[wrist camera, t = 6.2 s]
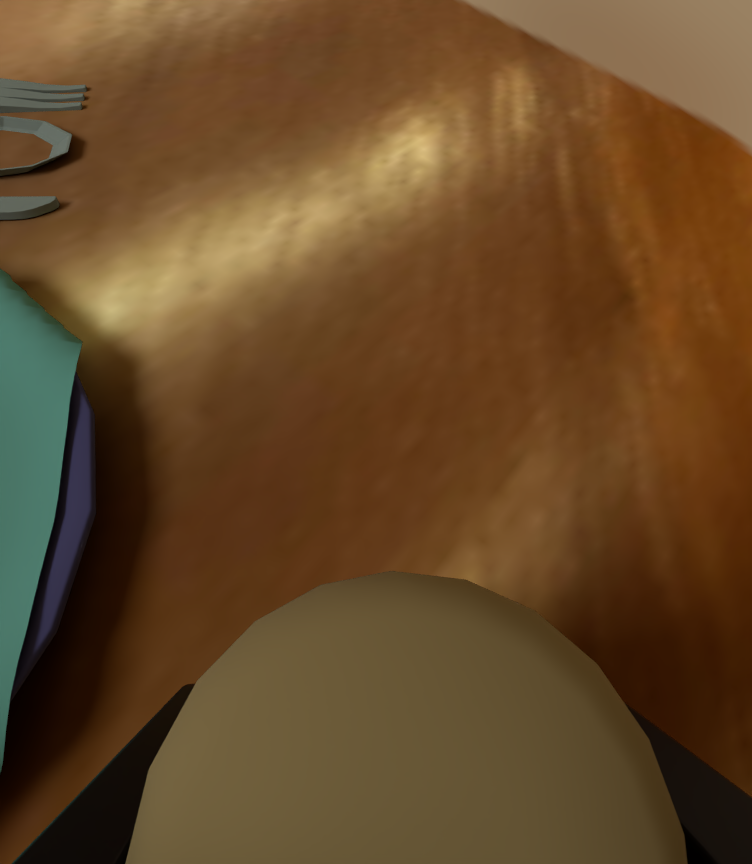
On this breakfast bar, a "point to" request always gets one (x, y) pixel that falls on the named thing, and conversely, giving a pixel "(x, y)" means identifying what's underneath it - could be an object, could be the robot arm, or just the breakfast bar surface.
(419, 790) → the cork
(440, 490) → the breakfast bar surface
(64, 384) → the cutlery set
